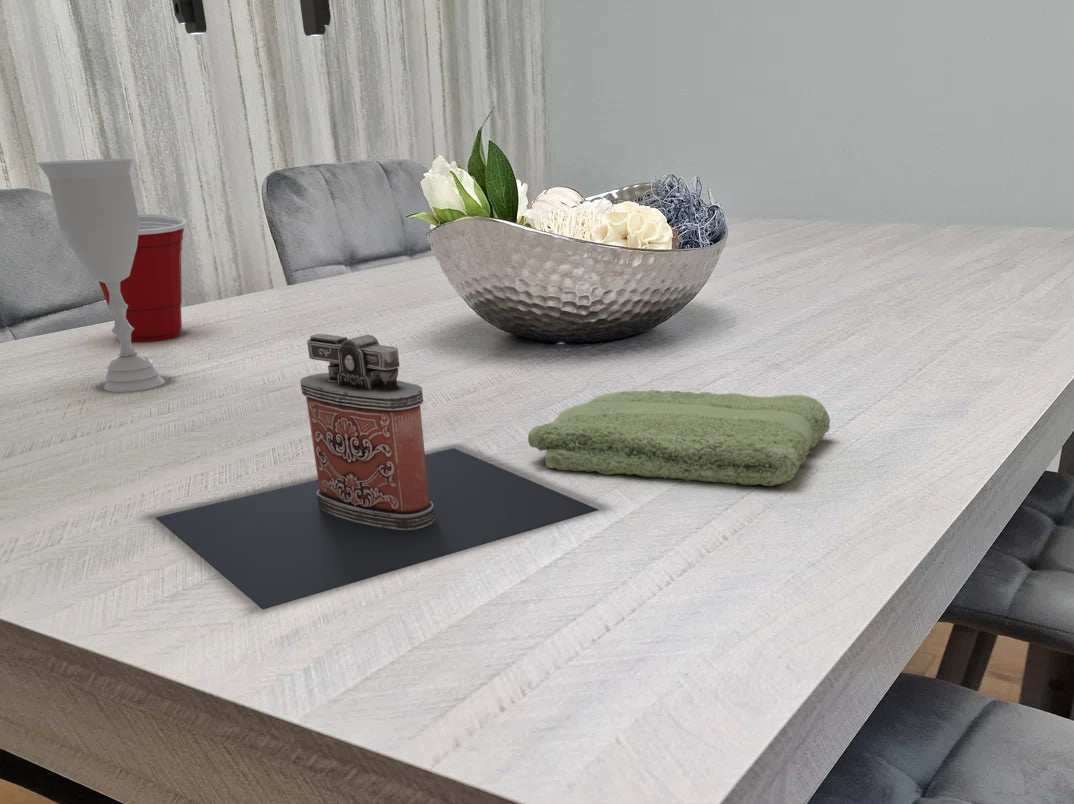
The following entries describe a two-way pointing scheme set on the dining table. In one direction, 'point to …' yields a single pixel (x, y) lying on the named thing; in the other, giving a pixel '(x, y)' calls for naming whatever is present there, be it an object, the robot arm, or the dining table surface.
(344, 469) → the lighter
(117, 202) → the chalice
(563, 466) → the washcloth
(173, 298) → the plastic cup
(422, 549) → the mat
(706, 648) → the dining table surface
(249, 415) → the dining table surface
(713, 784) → the dining table surface
